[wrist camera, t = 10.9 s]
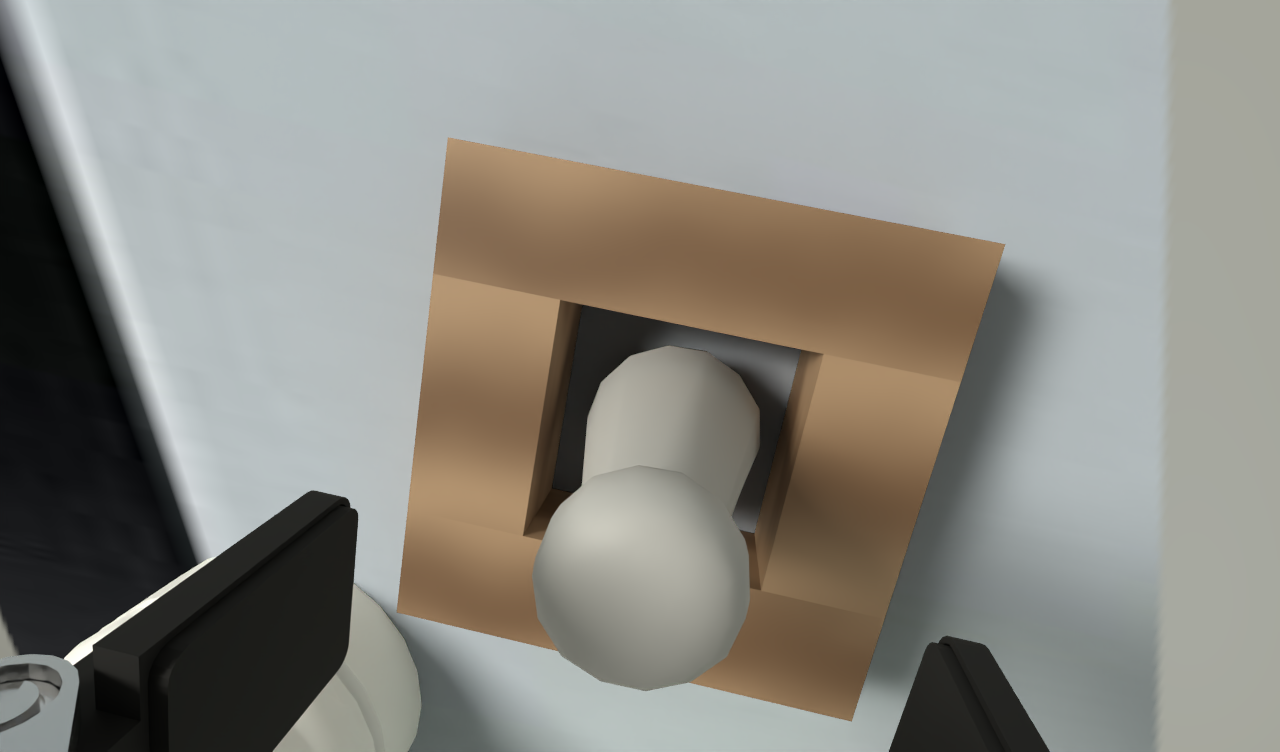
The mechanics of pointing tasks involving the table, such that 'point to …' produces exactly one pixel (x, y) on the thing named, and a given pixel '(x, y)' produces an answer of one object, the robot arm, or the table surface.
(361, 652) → the honey pot
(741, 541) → the salt shaker
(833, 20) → the table surface
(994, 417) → the table surface
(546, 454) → the brown wooden square frame
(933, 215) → the table surface
